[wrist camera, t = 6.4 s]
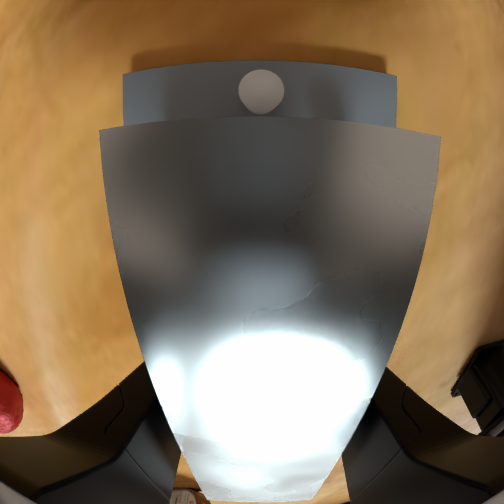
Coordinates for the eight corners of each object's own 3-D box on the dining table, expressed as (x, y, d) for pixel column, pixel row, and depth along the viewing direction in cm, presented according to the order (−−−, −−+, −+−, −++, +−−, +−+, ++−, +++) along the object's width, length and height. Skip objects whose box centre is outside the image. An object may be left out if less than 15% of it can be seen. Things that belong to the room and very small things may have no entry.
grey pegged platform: (387, 78, 11) (431, 68, 7) (344, 369, 18) (356, 414, 15) (131, 76, 11) (88, 65, 7) (171, 367, 19) (158, 413, 15)
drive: (338, 124, 7) (444, 138, 3) (302, 406, 12) (312, 499, 8) (189, 123, 7) (96, 130, 3) (216, 406, 12) (205, 499, 8)
